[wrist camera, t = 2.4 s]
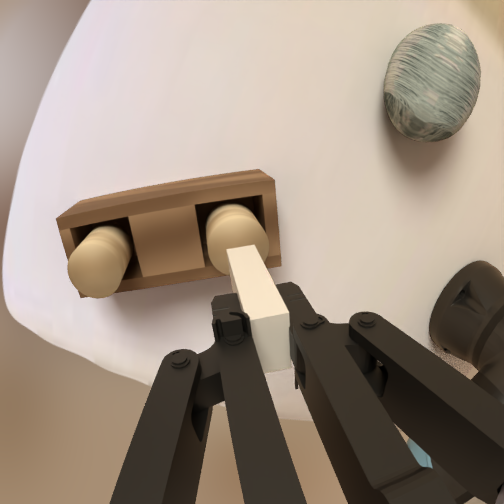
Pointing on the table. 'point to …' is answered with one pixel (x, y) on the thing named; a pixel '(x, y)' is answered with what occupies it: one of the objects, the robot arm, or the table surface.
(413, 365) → the robot arm
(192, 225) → the walnut block
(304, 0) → the table surface
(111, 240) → the peg left
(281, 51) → the table surface
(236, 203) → the peg right
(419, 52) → the grey green ridged egg
